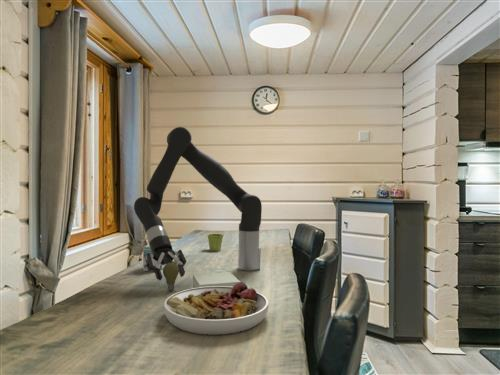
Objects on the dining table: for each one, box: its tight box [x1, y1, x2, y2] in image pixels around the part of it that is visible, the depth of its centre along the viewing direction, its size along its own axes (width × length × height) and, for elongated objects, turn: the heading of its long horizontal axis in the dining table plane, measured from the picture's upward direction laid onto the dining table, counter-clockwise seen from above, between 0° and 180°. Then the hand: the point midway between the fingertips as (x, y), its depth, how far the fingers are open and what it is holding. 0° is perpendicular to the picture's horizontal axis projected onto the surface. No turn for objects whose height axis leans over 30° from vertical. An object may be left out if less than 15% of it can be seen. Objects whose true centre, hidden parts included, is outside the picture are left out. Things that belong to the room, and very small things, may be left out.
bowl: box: [163, 281, 269, 336], centre depth 108 cm, size 30×30×8 cm
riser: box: [192, 271, 241, 288], centre depth 131 cm, size 14×14×5 cm
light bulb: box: [162, 262, 179, 292], centre depth 132 cm, size 6×6×10 cm
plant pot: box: [206, 233, 224, 252], centre depth 208 cm, size 9×9×9 cm
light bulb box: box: [142, 244, 166, 273], centre depth 163 cm, size 11×7×11 cm, turn 168°
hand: (172, 277), depth 131 cm, fingers open, 8 cm apart
